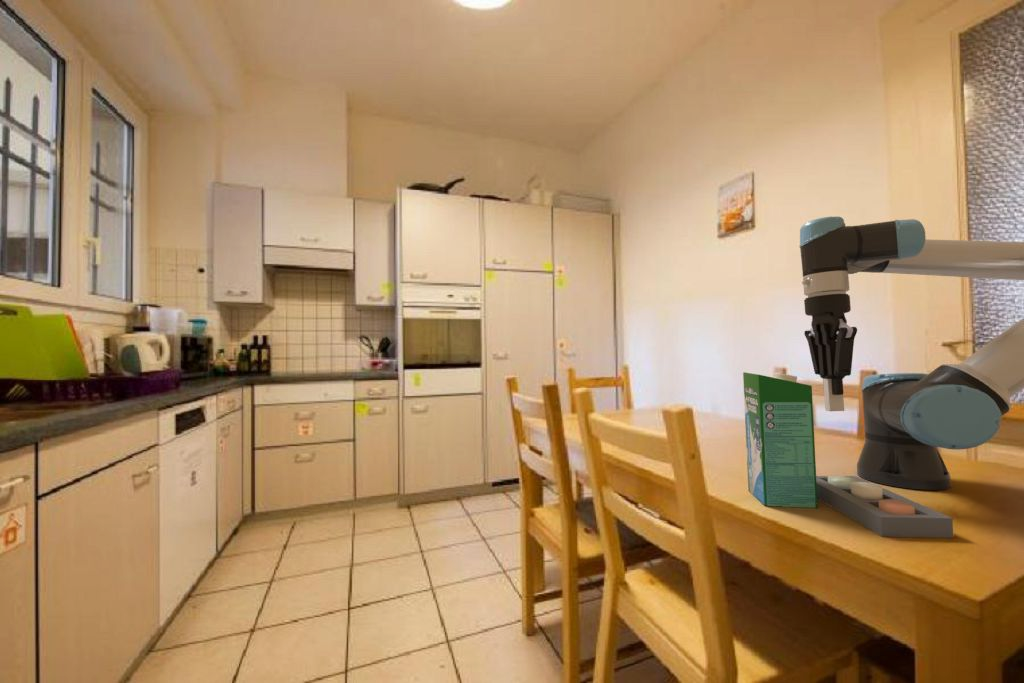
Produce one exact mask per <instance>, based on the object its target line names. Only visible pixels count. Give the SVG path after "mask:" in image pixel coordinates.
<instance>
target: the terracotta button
mask: <svg viewBox="0 0 1024 683" xmlns="http://www.w3.org/2000/svg"><path fill="white" fill-rule="evenodd" d="M879 509H881V510H883V511H885V512H887V513H889V514H909V515H915V507H914V506H913V505H911V504H909V503H905V502H901V501H896V500H879Z"/></svg>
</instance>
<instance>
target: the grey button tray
mask: <svg viewBox="0 0 1024 683" xmlns="http://www.w3.org/2000/svg"><path fill="white" fill-rule="evenodd" d="M828 476H829V475H816V483H817V500H820V501H821V502H823V503H825V505H828V506H829V507H831V508H833V509H835V510H836V511H838V512H840V513H841V514H843V515H845V516H846V517H848V518H850V519H851V520H853V521H855V522H857V523H859V524H860V525H861V526H863V527H865V528H867V529H869V530H870V531H872V532H873V533H875V534H877V535H878V536H880V537H882V538H883V537H887V538H888V537H889V538H890V537H891V538H892V537H893V538H894V537H895V538H897V537H898V538H935V539H936V538H937V539H938V538H941V539H942V538H943V539H945V538H946V539H954V525H953V523H954V521H953V517H950V516H948V515H946V514H944V513H941V512H939V511H937V510H934V509H932V508H930V507H927V506H925V505H923V504H920V503H919V502H916V501H913V500H911V499H909V498H907V497H905V496H903V495H900V494H898V493H895V492H893V491H891V490H888V489H886V488H884V487H882V493H883V499H860V498H858V497H856V496H854V495H852V494H851V486H834V485H832V484H830V483H828ZM844 476H845V477H850V478H853V479H855V480H856V482H867V483H872V484H874V482H870V481H869V480H867V479H864V478H862V477H860V476H859V477H858V476H855V475H844ZM879 500H896V501H901V502H905V503H909V504H911V505H913V506H914V507H915V515H909V514H889V513H887V512H885V511H883V510H881V509H879Z"/></svg>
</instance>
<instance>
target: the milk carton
mask: <svg viewBox="0 0 1024 683" xmlns="http://www.w3.org/2000/svg"><path fill="white" fill-rule="evenodd" d="M742 374H743V396H744V397H743V398H744V401H743V402H744V416H745V417H744V420H745V422H744V424H745V440H746V445H745V447H746V465H747V469H746V470H747V485H748V486H747V488H748V492H750V493H751V494H752V495H753V496H754V497H755V498H756V499H757V500H758V501H759V502H760V503H761V502H762V503H763V504H764V505H765V506H764V505H763V504H762V503H761V504H762V505H763V506H764V507H776V506H782V507H783V508H804V509H805V508H808V509H809V508H811V509H818V508H819V506H818V504H819V503H818V498H817V483H816V476H817V468H816V467H817V466H816V463H817V462H816V445H815V428H814V427H815V425H814V406H813V404H814V403H813V386H812V385H811V384H806V383H805V384H804V383H800V382H797V380H798V376H795V375H792V374H786V373H781V372H774V374H773V377H772V376H767V375H762V374H756V373H753V372H752V373H750V372H745V371H743V373H742Z"/></svg>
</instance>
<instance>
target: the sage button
mask: <svg viewBox="0 0 1024 683" xmlns="http://www.w3.org/2000/svg"><path fill="white" fill-rule="evenodd" d="M827 476H828V483H830V484H832V485H834V486H851V483H852V482H856V480H855V479H853V478H850V477H845V476H846V475H837V474H836V475H827Z"/></svg>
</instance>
